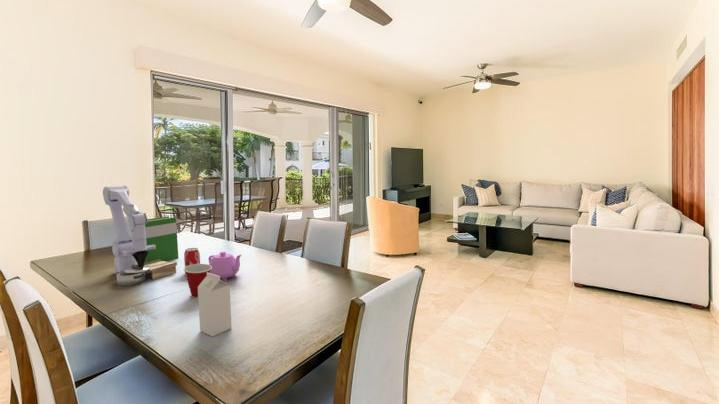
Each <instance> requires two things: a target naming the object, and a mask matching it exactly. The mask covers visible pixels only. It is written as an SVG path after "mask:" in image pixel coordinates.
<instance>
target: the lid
mask: <svg viewBox="0 0 719 404" xmlns="http://www.w3.org/2000/svg"><path fill="white" fill-rule="evenodd" d="M150 269H151V267H150V266H146V265H144V267H143V266H139V265H138V264H135V265H132V267H130V268H127V269H125V270H124V273H128V274H132V273H140V272H145V271H148V270H150Z"/></svg>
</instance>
